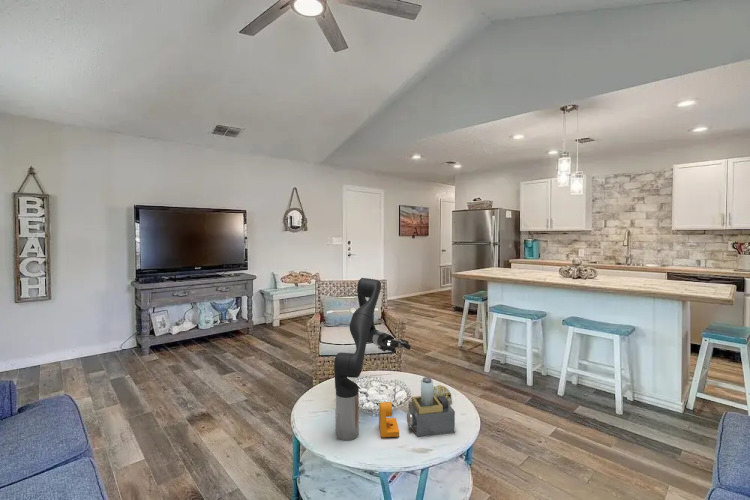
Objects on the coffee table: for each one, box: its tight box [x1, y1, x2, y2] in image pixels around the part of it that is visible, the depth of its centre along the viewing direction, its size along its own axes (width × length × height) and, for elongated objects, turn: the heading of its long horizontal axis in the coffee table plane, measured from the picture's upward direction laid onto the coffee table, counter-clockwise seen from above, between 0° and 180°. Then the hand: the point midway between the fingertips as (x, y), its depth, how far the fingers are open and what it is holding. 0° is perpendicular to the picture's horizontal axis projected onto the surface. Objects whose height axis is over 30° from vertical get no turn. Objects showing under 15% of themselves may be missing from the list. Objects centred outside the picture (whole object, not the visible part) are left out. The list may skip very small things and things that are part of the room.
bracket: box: [378, 401, 400, 438], centre depth 148 cm, size 11×7×12 cm, turn 4°
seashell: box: [433, 384, 453, 406], centre depth 174 cm, size 10×10×10 cm
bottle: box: [420, 376, 434, 407], centre depth 149 cm, size 5×5×12 cm
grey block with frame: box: [406, 395, 456, 438], centre depth 150 cm, size 18×11×12 cm, turn 101°
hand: (402, 349), depth 165 cm, fingers open, 8 cm apart
